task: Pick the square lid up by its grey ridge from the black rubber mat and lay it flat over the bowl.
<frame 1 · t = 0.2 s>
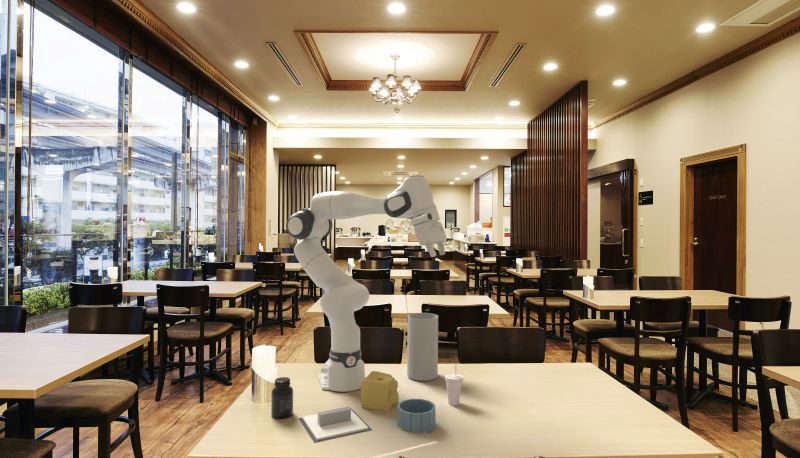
hand: (438, 255, 159), 52 cm above the table, tool tilted 20°, fingers open, 8 cm apart
smoothie: (453, 404, 158), on the table
supplement bottle: (282, 416, 147), on the table
cylinder vase: (422, 377, 186), on the table
square lid: (334, 423, 141), resting on mat
cheese: (379, 406, 156), on the table
bowl: (416, 425, 141), on the table
mat: (334, 425, 141), on the table
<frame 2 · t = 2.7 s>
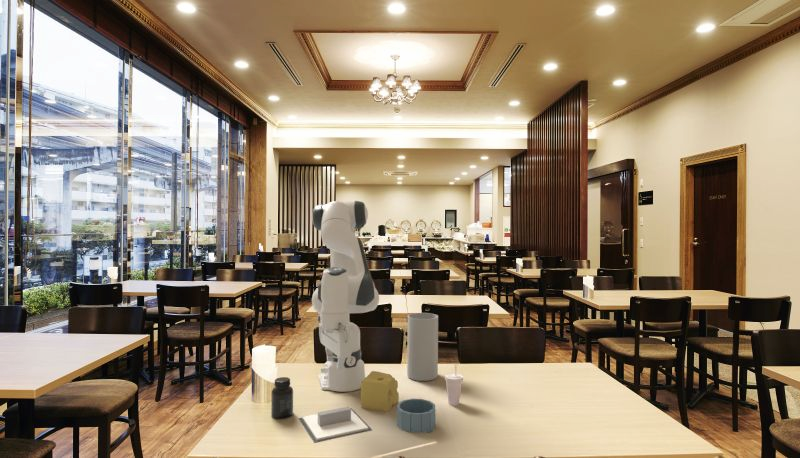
hand: (334, 364, 140), 19 cm above the table, tool pointing down, fingers open, 8 cm apart
nothing on the table moved.
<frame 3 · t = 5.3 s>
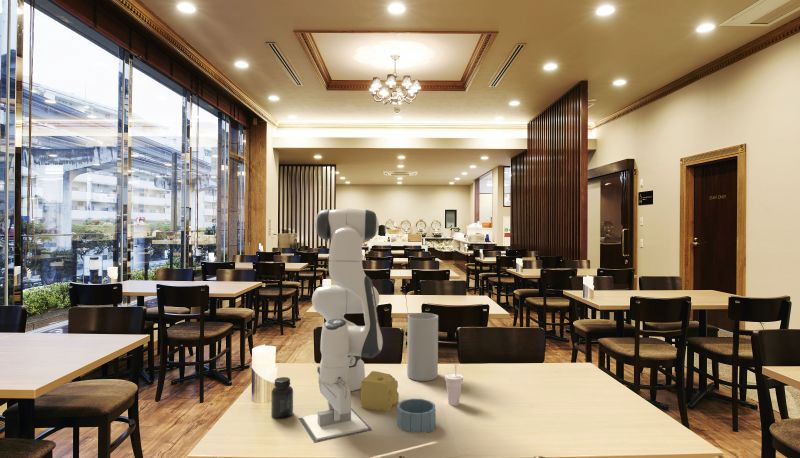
hand: (334, 417, 141), 3 cm above the table, tool pointing down, fingers closed on square lid, 2 cm apart
square lid: (334, 423, 141), resting on mat, touching gripper
everything else where it was.
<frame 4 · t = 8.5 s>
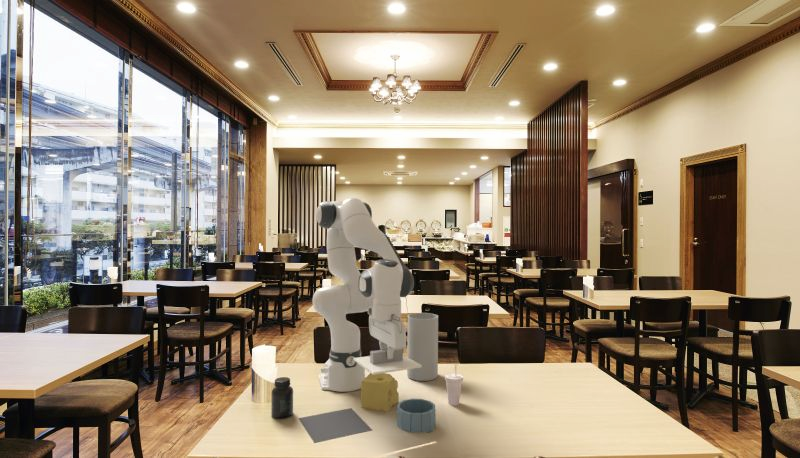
hand: (386, 356, 140), 22 cm above the table, tool pointing down, fingers closed on square lid, 2 cm apart
square lid: (386, 363, 140), point 20 cm above the table, touching gripper
everything else where it was.
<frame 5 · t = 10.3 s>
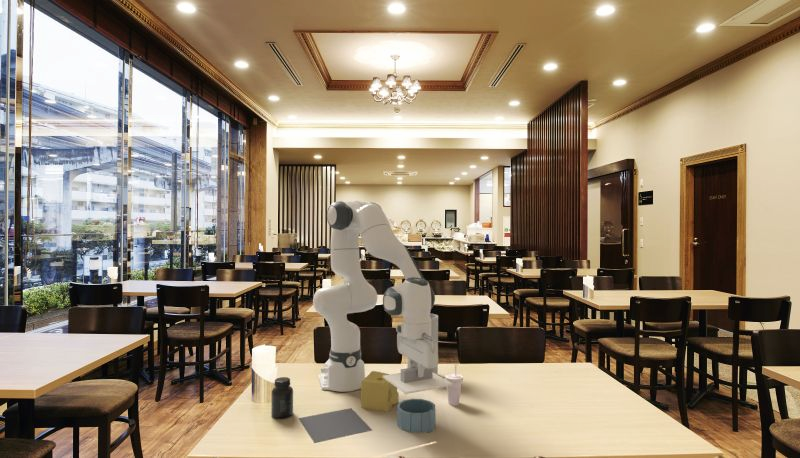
hand: (416, 374, 141), 16 cm above the table, tool pointing down, fingers closed on square lid, 2 cm apart
square lid: (416, 381, 141), point 14 cm above the table, touching gripper
everything else where it was.
when the fingers open (10 cm above the table, at t = 12.0 s): square lid drops 1 cm, resting on bowl.
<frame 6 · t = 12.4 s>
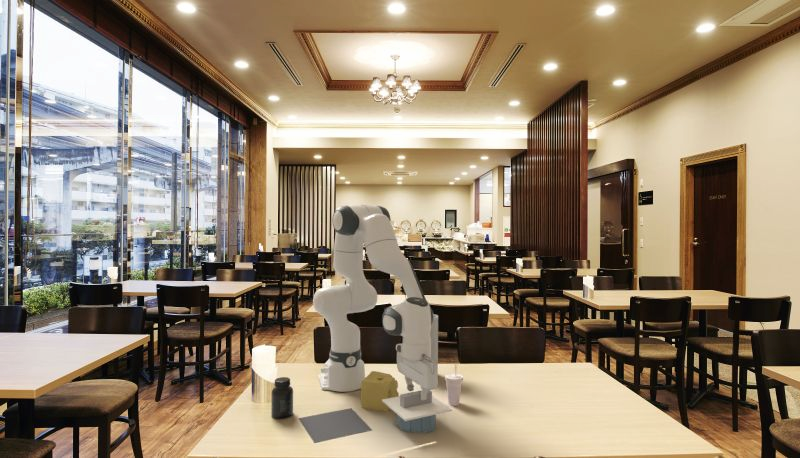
hand: (416, 394, 141), 10 cm above the table, tool pointing down, fingers open, 7 cm apart
square lid: (416, 406, 141), point 6 cm above the table, touching bowl
everything else where it was.
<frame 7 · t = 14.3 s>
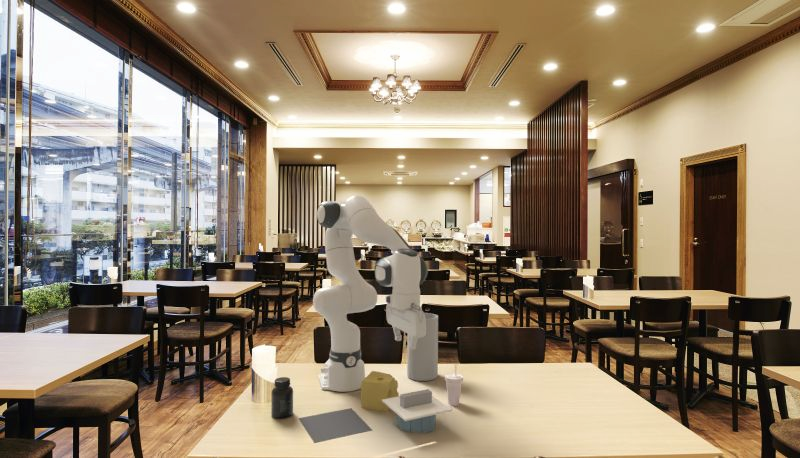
hand: (405, 344, 142), 25 cm above the table, tool pointing down, fingers open, 8 cm apart
nothing on the table moved.
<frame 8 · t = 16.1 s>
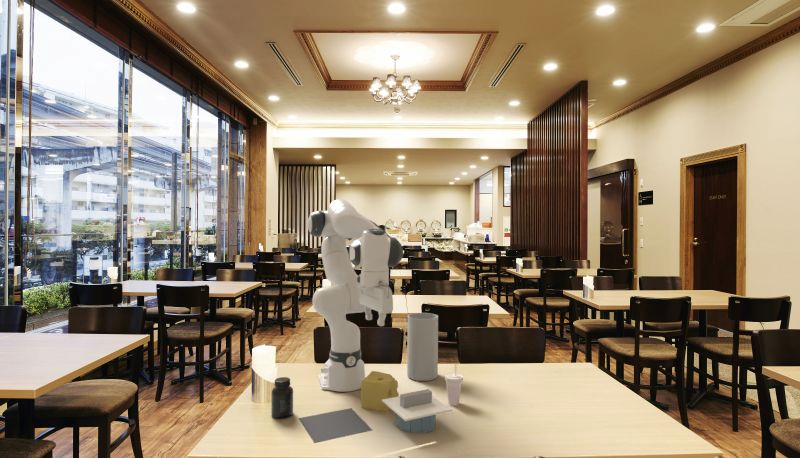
hand: (374, 322, 145), 31 cm above the table, tool pointing down, fingers open, 8 cm apart
nothing on the table moved.
at the end: square lid 0.1 cm off-centre on the bowl, point 6.0 cm above the bowl's base; square lid tilted 0°; the gripper is holding nothing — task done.
